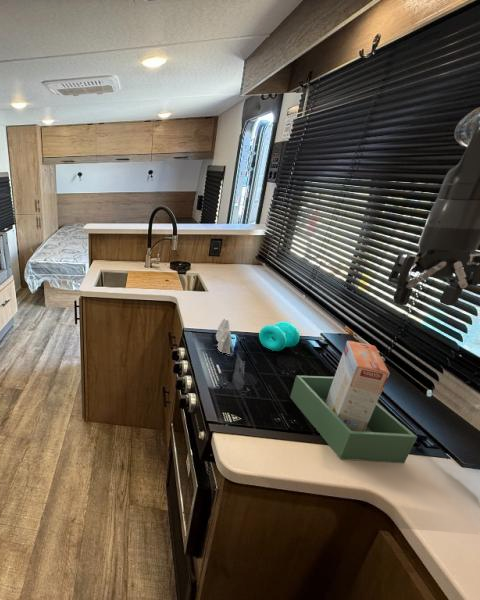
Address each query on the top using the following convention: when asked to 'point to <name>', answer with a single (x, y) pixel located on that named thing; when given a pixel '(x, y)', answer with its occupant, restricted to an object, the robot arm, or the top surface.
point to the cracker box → (357, 385)
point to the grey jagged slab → (224, 337)
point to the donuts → (279, 336)
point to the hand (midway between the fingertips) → (423, 304)
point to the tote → (345, 443)
